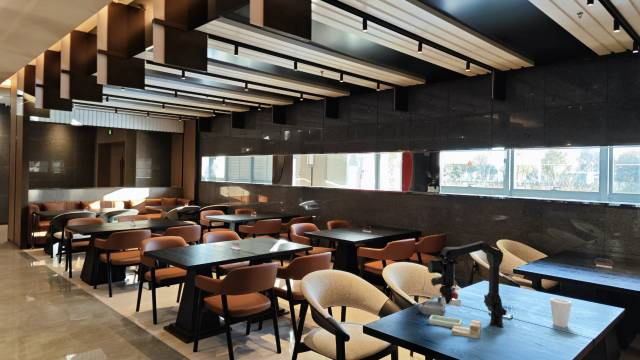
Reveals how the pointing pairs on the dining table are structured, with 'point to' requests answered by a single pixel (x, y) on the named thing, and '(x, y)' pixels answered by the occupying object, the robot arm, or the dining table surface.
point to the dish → (432, 308)
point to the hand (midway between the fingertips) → (447, 303)
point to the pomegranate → (454, 296)
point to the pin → (452, 302)
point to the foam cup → (560, 311)
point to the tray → (444, 321)
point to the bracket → (469, 330)
